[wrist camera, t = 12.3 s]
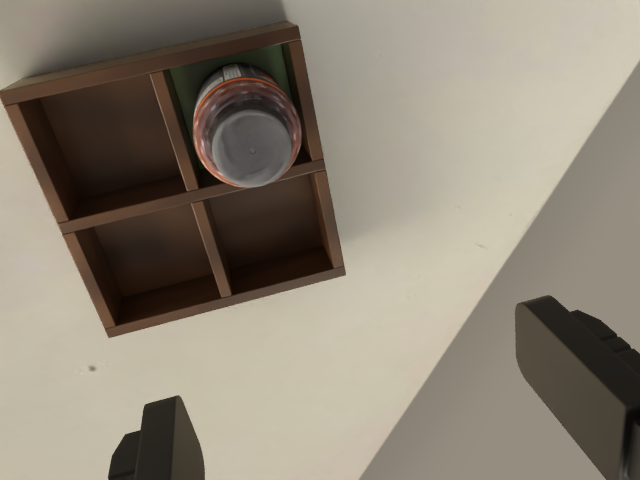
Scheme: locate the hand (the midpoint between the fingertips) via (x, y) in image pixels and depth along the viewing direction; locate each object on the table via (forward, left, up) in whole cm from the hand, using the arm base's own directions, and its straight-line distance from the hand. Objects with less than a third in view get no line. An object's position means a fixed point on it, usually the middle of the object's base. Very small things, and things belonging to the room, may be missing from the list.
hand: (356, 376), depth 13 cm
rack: (+3, -5, -29) cm, 29 cm away
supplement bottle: (-1, -1, -28) cm, 28 cm away
